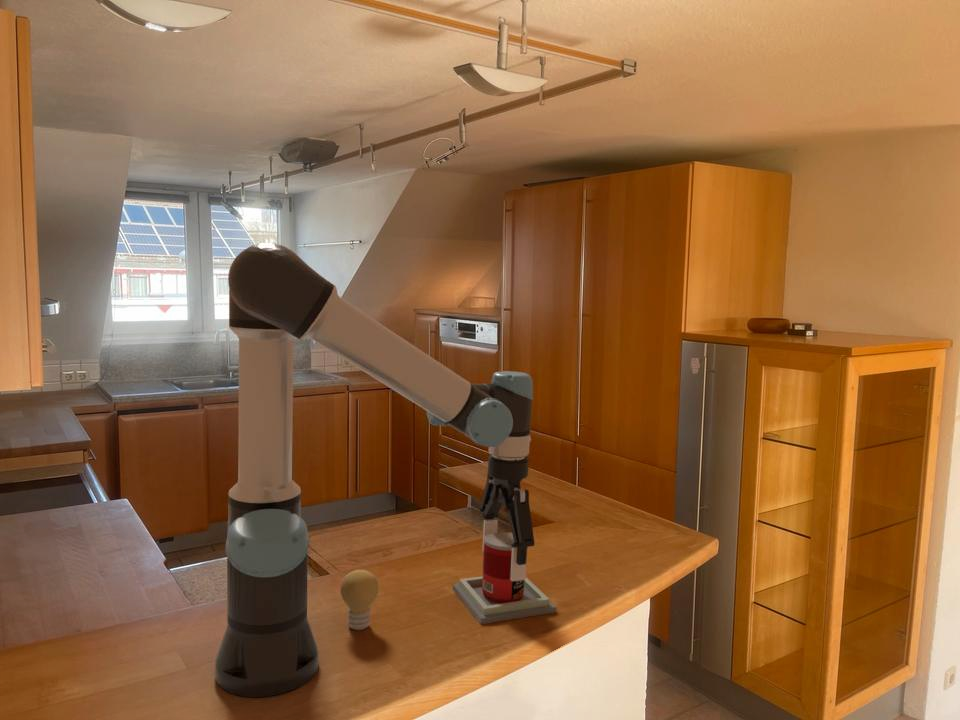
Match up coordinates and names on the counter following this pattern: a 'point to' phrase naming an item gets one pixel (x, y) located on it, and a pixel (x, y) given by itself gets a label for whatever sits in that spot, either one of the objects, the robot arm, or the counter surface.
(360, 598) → the light bulb
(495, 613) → the coaster
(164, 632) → the counter surface
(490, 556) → the canned food
